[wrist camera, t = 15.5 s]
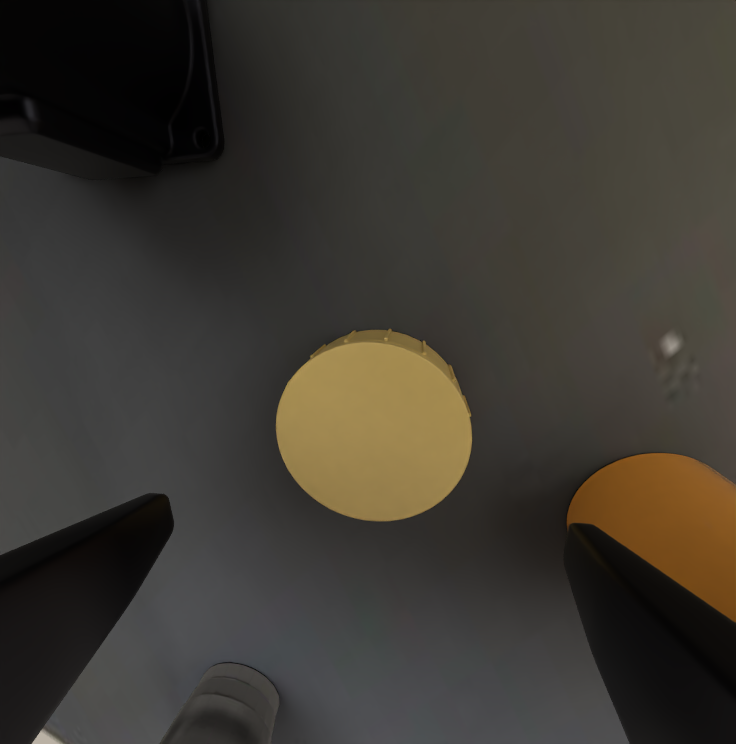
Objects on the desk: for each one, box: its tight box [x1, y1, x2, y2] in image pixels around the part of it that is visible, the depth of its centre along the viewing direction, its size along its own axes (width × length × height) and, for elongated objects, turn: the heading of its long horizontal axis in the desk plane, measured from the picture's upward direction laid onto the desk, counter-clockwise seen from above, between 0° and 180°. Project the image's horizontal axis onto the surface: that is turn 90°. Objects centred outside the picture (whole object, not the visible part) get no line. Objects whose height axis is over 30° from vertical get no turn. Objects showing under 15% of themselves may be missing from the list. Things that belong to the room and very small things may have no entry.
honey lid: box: [276, 329, 472, 521], centre depth 12 cm, size 6×6×2 cm
